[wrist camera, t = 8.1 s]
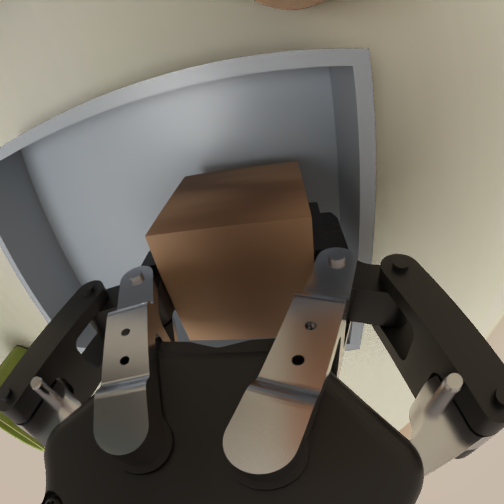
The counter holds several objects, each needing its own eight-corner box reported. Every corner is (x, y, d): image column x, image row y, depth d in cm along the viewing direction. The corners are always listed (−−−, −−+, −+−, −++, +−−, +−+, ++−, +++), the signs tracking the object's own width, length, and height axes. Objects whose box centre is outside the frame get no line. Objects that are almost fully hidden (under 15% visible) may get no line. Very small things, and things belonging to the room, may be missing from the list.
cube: (209, 265, 16) (190, 340, 12) (184, 176, 13) (144, 236, 9) (306, 256, 15) (316, 333, 11) (297, 160, 12) (311, 217, 8)
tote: (94, 305, 22) (69, 351, 18) (18, 140, 14) (-33, 170, 10) (345, 290, 19) (359, 349, 15) (337, 53, 11) (368, 48, 7)
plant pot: (44, 385, 35) (21, 442, 26) (-7, 335, 29) (-40, 394, 20) (88, 389, 32) (62, 460, 23) (25, 329, 26) (-16, 407, 17)
